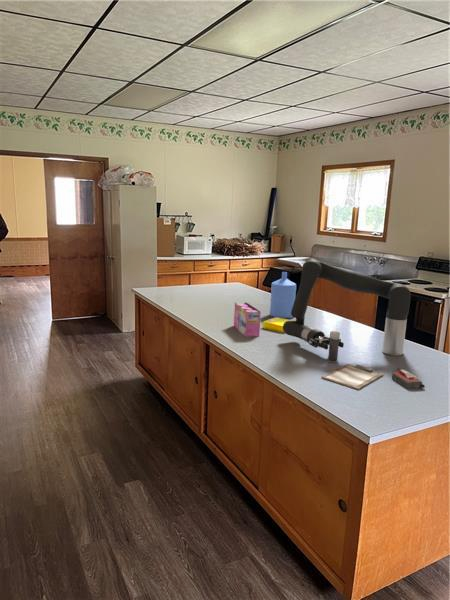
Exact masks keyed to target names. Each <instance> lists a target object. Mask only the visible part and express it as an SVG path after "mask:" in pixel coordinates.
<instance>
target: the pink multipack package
mask: <svg viewBox="0 0 450 600" xmlns="http://www.w3.org/2000/svg"><path fill="white" fill-rule="evenodd" d="M261 313H262V312H261V310H259V309H257V308H255V307H254V306H252V305H251V304H250V303H248V302H244V303H237V302H234V314H233V315H234V316H233V327H234V328H235V329H237V330H238V332H240V333H241V334H242V335H243V336H244V337H246V338H248V337H260V332H261V330H260V327H261V317H262V316H261Z"/></svg>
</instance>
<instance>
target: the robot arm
mask: <svg viewBox="0 0 450 600" xmlns="http://www.w3.org/2000/svg"><path fill="white" fill-rule="evenodd" d="M318 279H322V280H325V281H326V280H327V281H330V282H331V283H334V284H336V285H338V286H340V287H341V288H344V289H346V290H350V291H352V292H357V293H362V294H370V295H376V296H379V297H383V298H385V299H388V305H387V311H386V313H385V314H386V315H385V324H384V331H383V332H384V336H383V342H382V352H383V354H386V355H390V356H396V357H397V356H402V355H404V354H403V353H404V347H405V346H404V345H405V339H406V330H407V322H408V315H409V313H410V304H411V300H412V299H411V297H412V295H411V291H410V289H409V288H408V287H407V286H406V285H405V284H402V283H397V282H391V281H386V280H381V279H378V278H376V277H374V276H372V275H369V274H366V273H362V272H359V271H357V270H351V269H348V268H343V267H340V266H339V267H338V266H334V265H332V264H331V265H330V264H328V263H325V262H323V261H321V260H318V259H316V258H309V259H307V260H306V261H305V262H303V264H302V267H301V278H300V283H299V287H298V291H297V293H296V296H295V301H294V304H293V307H292V310H291V315H292V316H293V317H292V318H294V319H295V320H292V321H286V322H285V323H284V324H283V331H284V332H285V333H284V334H286V335H288V336H290V337H291V336H292V337H294V338H295V337H296V338H298V339H300V340H302V341H304V342H305V343H307V344H308V345H310V346H312V347H313V348H315V349H316V348H319V349H321V348H322V349H324V350H326V351H327V350H329V343H330V336H327V335H326V334H325V333H324V332H323V331H322V330H319V329H316V328H314V327H311V326H308V325H305V317H306V316H305V315H306V313H307V309H308V306H309V303H310V298H311V294H312V291H313V287H314V286H315V283H316V282H317V280H318ZM344 344H345V343H344V341H343V342H342V338H339V347H340V348H342V349H343V348H344ZM339 347H338V348H339Z"/></svg>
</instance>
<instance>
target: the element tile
mask: <svg viewBox="0 0 450 600" xmlns="http://www.w3.org/2000/svg"><path fill="white" fill-rule="evenodd" d="M286 321H293V320H292V319H288V318H277V317H272V318H269V319H267V320H264V321H263V322H262V329H264V330H268V331H273V332H277V333H283V334H286V333H285V332H284V331H283V324H284V323H285V322H286Z"/></svg>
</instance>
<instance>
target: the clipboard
mask: <svg viewBox="0 0 450 600" xmlns="http://www.w3.org/2000/svg"><path fill="white" fill-rule="evenodd" d="M383 376H385V374H384V373H381V372H377V371H374V368H370V367H367V366H363V365H360V364H356V365H352V364H349V363H348V364H345V365H344V366H341V367H339V368H337V369H335V370H333V371H330V372H329V373H327V374H324V375H323V376H321V377H320V379H323V380H326V381H329V382H332V383H336V384H339V385H342V386H345V387H347V388H351V389H354V390H357V391H360V390H362V389H364V388H365V387H367V386H369V385H370V384H371V383H373V382H375V381H377V380H378V379H380V378H382V377H383Z"/></svg>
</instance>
